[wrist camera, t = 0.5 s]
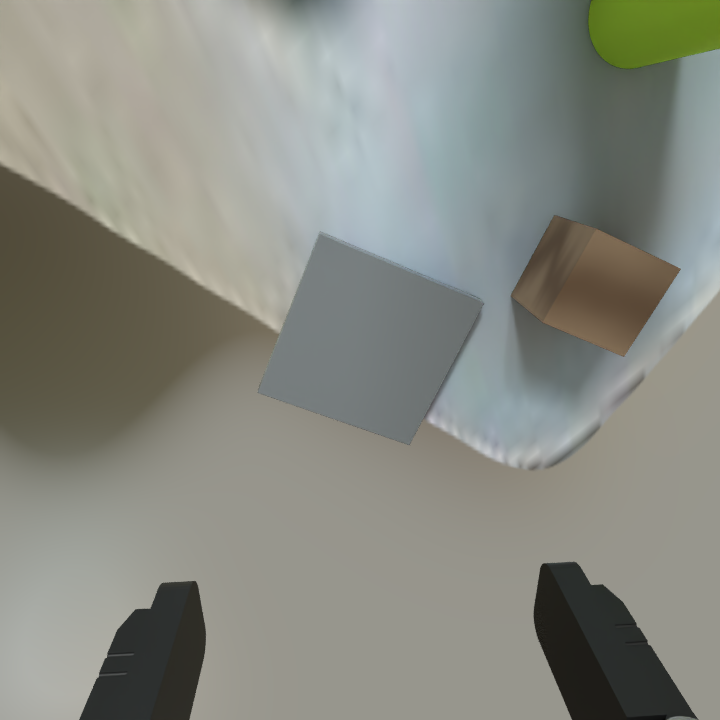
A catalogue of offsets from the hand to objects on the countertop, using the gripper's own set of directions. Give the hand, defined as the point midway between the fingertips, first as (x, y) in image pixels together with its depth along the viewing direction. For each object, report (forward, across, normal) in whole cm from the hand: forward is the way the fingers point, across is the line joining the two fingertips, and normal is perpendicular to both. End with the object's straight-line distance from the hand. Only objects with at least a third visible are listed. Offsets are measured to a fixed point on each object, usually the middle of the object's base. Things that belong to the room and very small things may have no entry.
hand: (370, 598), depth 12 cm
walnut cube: (+26, -16, -1) cm, 31 cm away
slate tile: (+26, -2, +4) cm, 26 cm away
